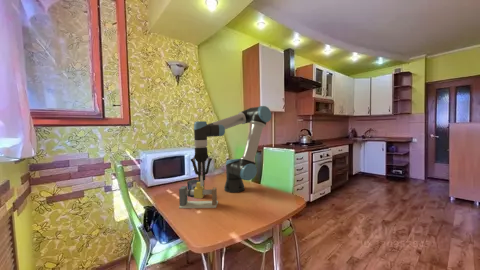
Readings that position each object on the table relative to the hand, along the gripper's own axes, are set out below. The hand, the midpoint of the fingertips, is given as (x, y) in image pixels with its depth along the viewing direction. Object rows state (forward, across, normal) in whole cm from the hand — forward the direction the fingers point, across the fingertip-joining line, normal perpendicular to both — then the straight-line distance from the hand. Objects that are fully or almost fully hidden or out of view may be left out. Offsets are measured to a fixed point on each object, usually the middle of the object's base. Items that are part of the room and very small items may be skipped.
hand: (202, 185), depth 123 cm
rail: (+12, +2, 0) cm, 12 cm away
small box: (+12, +8, -17) cm, 23 cm away
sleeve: (+7, +2, 0) cm, 7 cm away
